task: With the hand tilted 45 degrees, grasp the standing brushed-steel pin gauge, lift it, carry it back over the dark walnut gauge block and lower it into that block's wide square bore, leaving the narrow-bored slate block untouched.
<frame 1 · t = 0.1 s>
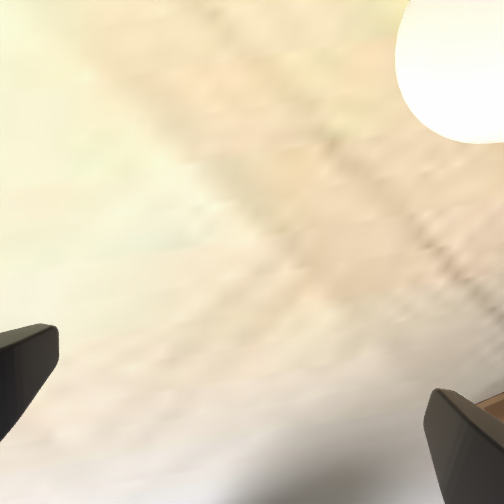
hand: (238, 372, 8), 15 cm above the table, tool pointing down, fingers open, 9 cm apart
wine bottle: (479, 51, 19), on the table
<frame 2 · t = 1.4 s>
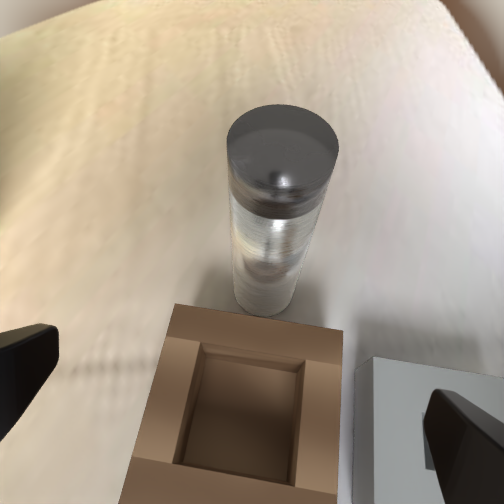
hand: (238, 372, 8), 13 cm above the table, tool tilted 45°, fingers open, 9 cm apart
pin gauge: (263, 288, 24), on the table
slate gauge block: (417, 445, 20), on the table
walnut gauge block: (243, 415, 20), on the table
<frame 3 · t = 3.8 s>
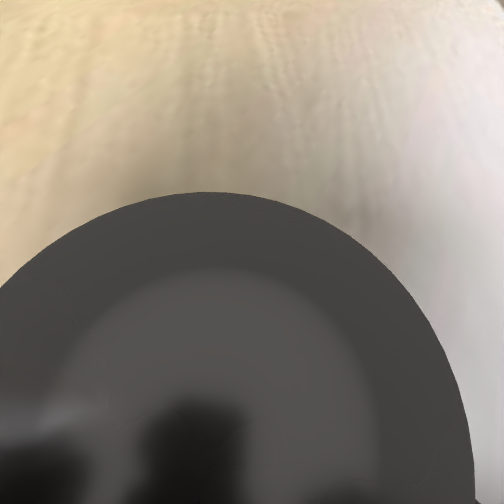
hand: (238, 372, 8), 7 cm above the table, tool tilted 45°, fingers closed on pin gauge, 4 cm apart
pin gauge: (233, 445, 14), on the table, touching gripper
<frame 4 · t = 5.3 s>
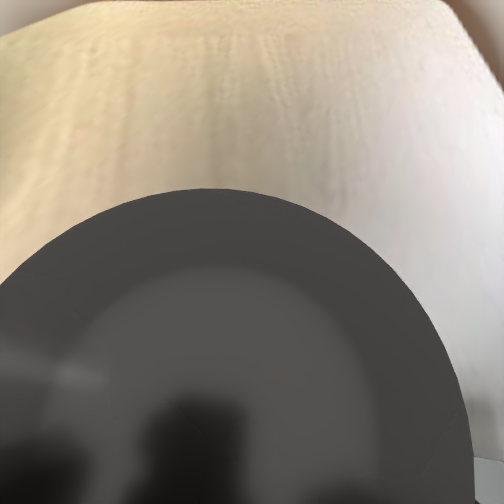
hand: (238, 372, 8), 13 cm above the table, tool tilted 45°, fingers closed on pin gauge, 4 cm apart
pin gauge: (233, 444, 14), point 6 cm above the table, touching gripper
when the fingers open (8 cm above the table, at t = 7.0 s): pin gauge stays where it is, resting on walnut gauge block.
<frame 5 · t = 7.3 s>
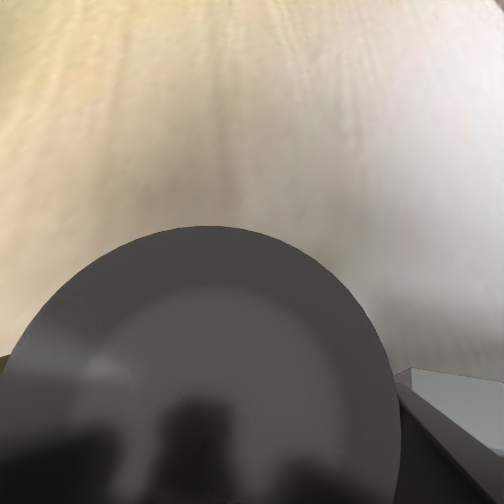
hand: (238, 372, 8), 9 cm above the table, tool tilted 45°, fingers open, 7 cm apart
pin gauge: (233, 449, 15), point 1 cm above the table, touching walnut gauge block
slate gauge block: (467, 486, 15), on the table
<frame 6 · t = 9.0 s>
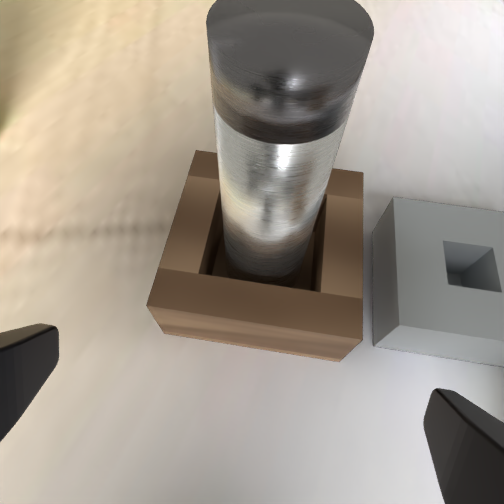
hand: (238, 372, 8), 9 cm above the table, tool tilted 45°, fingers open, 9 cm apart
pin gauge: (262, 267, 20), point 1 cm above the table, touching walnut gauge block
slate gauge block: (436, 294, 20), on the table
walnut gauge block: (262, 269, 20), on the table
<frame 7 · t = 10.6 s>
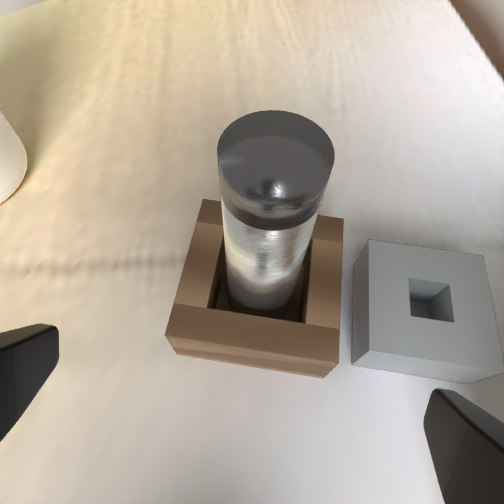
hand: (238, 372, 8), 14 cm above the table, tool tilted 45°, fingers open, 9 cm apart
pin gauge: (259, 296, 24), resting on walnut gauge block
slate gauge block: (406, 319, 24), on the table
walnut gauge block: (259, 298, 24), on the table
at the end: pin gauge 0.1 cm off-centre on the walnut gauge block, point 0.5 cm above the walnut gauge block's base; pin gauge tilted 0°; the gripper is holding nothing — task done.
